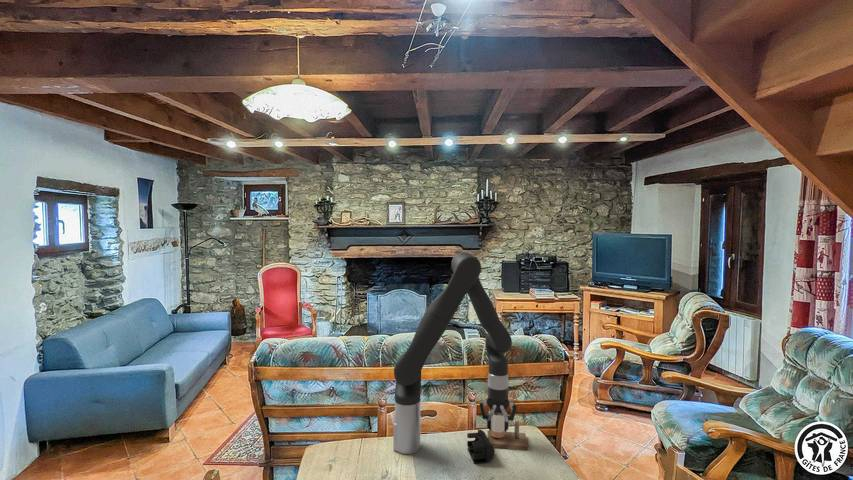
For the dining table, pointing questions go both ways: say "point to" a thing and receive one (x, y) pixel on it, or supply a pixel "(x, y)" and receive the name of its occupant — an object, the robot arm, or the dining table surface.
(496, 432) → the sleeve
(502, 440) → the pin board
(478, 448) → the end cap
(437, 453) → the dining table surface
